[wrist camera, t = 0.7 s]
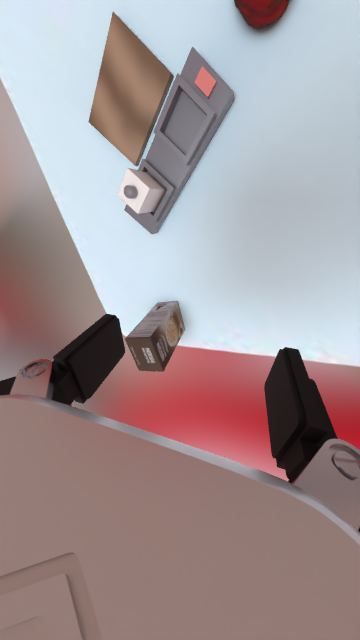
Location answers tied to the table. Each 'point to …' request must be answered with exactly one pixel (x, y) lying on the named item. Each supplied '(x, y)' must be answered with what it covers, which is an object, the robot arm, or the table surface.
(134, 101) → the walnut mat
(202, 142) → the power strip
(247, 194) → the table surface
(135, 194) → the plug
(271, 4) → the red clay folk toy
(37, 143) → the table surface
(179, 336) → the coffee box
